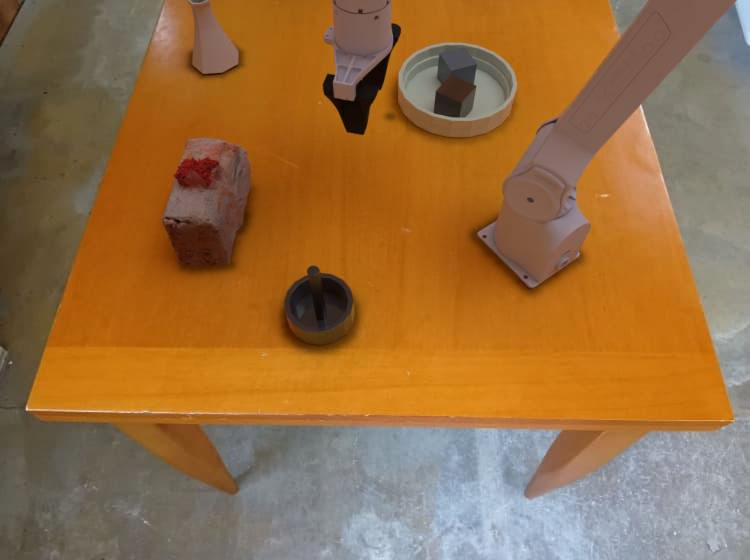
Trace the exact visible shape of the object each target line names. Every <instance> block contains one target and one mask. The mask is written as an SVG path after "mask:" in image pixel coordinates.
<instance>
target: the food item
mask: <svg viewBox="0 0 750 560" xmlns="http://www.w3.org/2000/svg"><path fill="white" fill-rule="evenodd" d="M173 177H174V178H173V183H172V186H171V189H170V190H171V191H170V194H169V196H168V199H167V200H168V201H167V204H166V205H165V210H164V212H163V215H162V217H161V218H160V221H162V226H163V228H164V229H165V231H166V234H167V236H168V239H169V241H170V244H171V247H172V248H173V251H174V253H175V254H176V256H177V262H179V263H180V264H181V265H186V266H223V265H229V264H231V262H232V261H231V260H232V254H233V250H234V248H233V247H234V243H235V240H236V238H237V233H238V231H239V230H240V229H241V227H242V226H243V225H244V217H245V210H246V207H247V205H248V203H249V202H248V201H249V200H248V197H249V195H250V192H251V181H252V166H251V162H250V160H249V159H248V152H247V150H246V149H245V148H243V146H242V145H237V144H236V143H231V142H230V141H229V142H228V141H227V140H224V139H220V138H219V139H218V138H210V137H200V138H199V137H197V138H186V140H185V145H184V150H183V152H182V154H181V157H180V160H179V163H178V166H177V169H176V172H175V173H174V174H173Z"/></svg>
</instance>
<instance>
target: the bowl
mask: <svg viewBox="0 0 750 560" xmlns="http://www.w3.org/2000/svg"><path fill="white" fill-rule="evenodd" d="M463 47H465V48H466V49H467V51H468V52H469V53H470V55H471V56H472V57H473V59H474V60H475V61H476V63H477V69H476V74H475V80H474V85H476V86H477V87H476V92H475V98H474V103H473V109H472V110H471V111H470V113H469V114H468V115H467V116H466V117H465V118H452V117H448V116H443V115H439V114H435V113H434V103H435V94H436V90H437V89H438V88H439V87H440V86H441V85H442V84H441V82H440V81H439V79H438V78H437V71H438V61H439V53H443V52H447V51H451V50H455V49H459V48H463ZM397 75H398V77H397V104H398V106H399V108H400V109H401V111H402V113H403V115H404V116H405V117H406V118H407V119H408V120H409V121H410V122H411V123H412V124H413V125H415V126H416V127H418V128H420V129H422V130H423V131H425V132H428V133H430V134H433V135H438V136H442V137H446V138H472V137H477V136H480V135H481V136H482V135H485V134H487V133H489V132H491V131H493V130H494V129H496V128H498V127H500V126H501V125H503V123H504V122H505V121H506V120H507V118H508V117H510V115H511V111H512V109H513V105H514V101H515V97H516V93H517V89H518V80H517V76H516V72H515V71H514V70H513V68H512V66H511V65H510V63H509V62H508V61H507V60H505V59H504V58H503V57H501V56H500V55H499V54H497V52H495V51H492V50H490V49H489V48H485V47H483V46H480V45H477V44H471V43H466V42H440V43H436V44H435V43H434V44H432V45H428V46H425V47H423V48H420V49H419V50H417V51H415V52H413V53H412V54H411V55H410V56H409V57H407V58H406V60H404V61H403V63H402V65H401V67H400V69H399V71H398V73H397Z"/></svg>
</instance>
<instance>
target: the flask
mask: <svg viewBox="0 0 750 560" xmlns="http://www.w3.org/2000/svg"><path fill="white" fill-rule="evenodd" d="M186 2H187V4H188V5H190V8H191V11H192V14H193V24H194V27H193V29H194V30H193V47H192V59H191V65H192V66H193V67H194V68H195V69H196V70H198V71H199V72H200V73H201V74H202V75H208V74H218V73H225V72H227V71H228V70H230V69H232V68H233V67H235V66H237V65H239V57H240V56H239V55H240V54H239V50H238V48H237V47H236V45H235V44H234V43H233V42H232V40H231V38H229V36H228V34H227V32H226V31H225V30H224V28H223V27H222V26H221V24H220V23H219V21H218V19H217V17H216V15H215V13H214V10H213V9H212V5H211V0H186Z"/></svg>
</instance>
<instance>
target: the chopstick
mask: <svg viewBox="0 0 750 560" xmlns="http://www.w3.org/2000/svg"><path fill="white" fill-rule="evenodd" d="M320 271H321V270H320V267H318V266H317V265H310V266H309V267H308V268H307V270H306V275H308V279H309V285H310V290H311V295H312V300H313V305H314V310H315V315H316V318H317V319H319V320H323V319H325V318H326V315H327V314H326V308H325V301H324V295H323V289H322V283H321V277H320V273H321V272H320Z"/></svg>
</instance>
